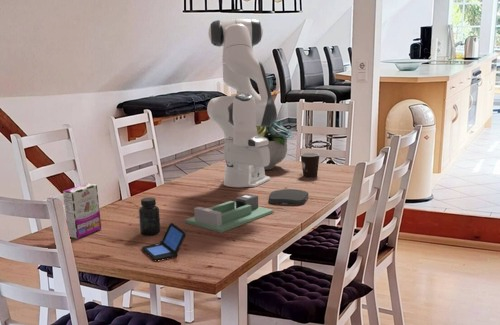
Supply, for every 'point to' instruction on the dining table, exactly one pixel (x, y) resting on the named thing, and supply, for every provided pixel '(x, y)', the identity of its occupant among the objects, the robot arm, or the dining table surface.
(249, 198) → the labelled grey storage bin
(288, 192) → the media streaming box
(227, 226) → the board
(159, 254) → the handheld game console
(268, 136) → the flower arrangement
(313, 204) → the dining table surface
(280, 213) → the dining table surface
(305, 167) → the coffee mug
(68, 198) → the candy bar box
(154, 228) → the supplement bottle
